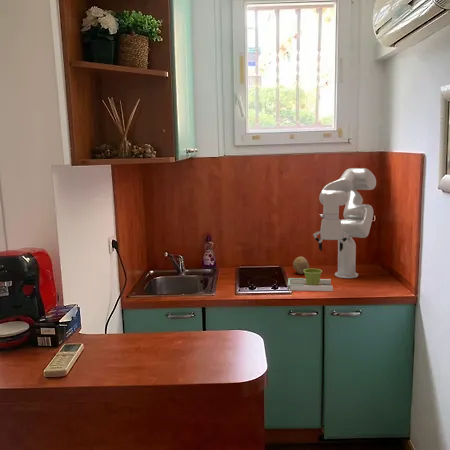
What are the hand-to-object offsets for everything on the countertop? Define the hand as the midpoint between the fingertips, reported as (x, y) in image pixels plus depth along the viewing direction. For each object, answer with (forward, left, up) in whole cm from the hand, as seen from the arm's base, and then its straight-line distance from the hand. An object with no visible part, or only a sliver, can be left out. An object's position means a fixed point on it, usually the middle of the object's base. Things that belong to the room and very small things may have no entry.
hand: (330, 250), depth 234 cm
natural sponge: (-28, -14, -19) cm, 37 cm away
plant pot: (0, -9, -20) cm, 21 cm away
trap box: (0, -10, -19) cm, 22 cm away
